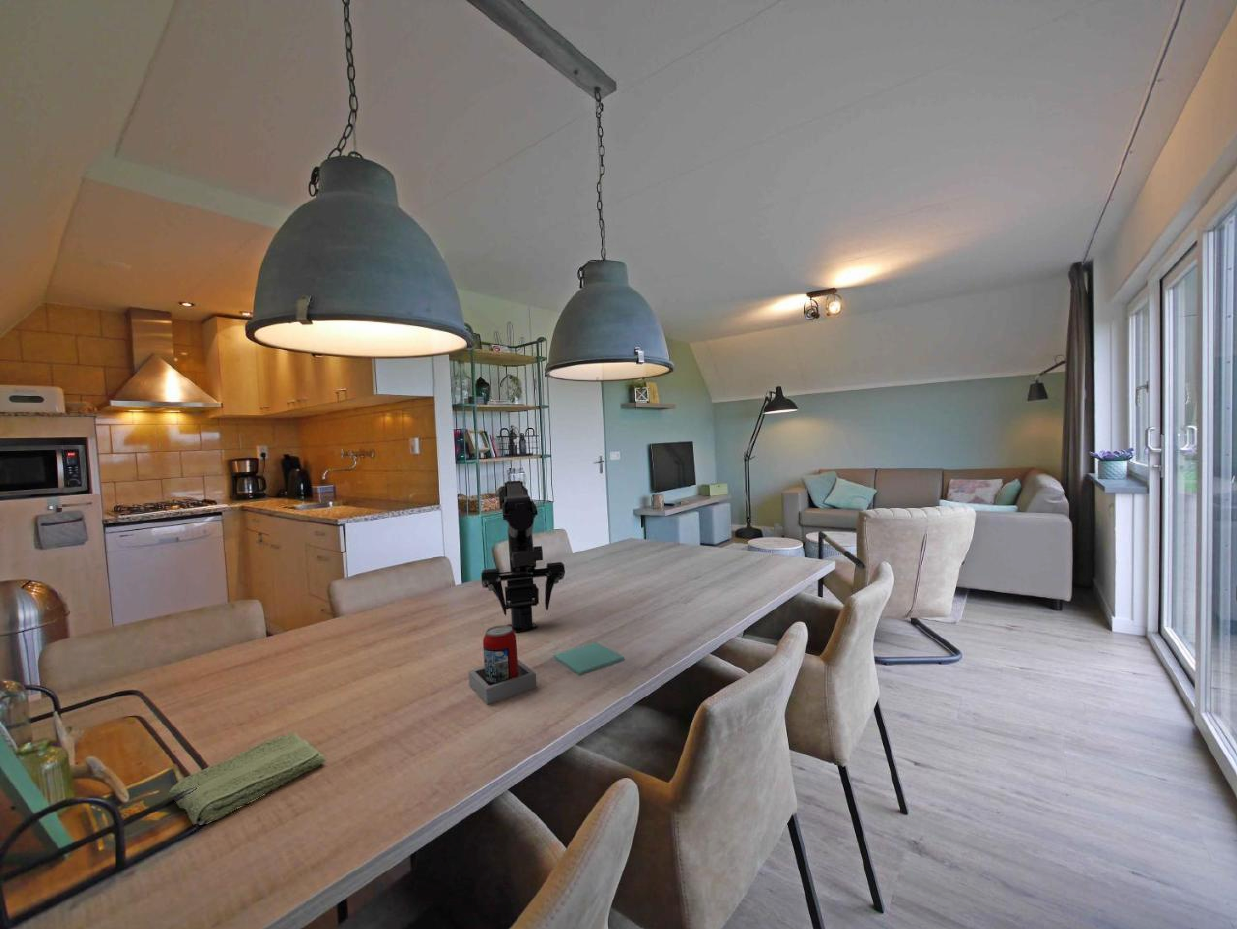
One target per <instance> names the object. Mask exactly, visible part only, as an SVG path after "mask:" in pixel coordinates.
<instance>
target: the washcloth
mask: <svg viewBox="0 0 1237 929" xmlns="http://www.w3.org/2000/svg"><path fill="white" fill-rule="evenodd" d="M325 762H326V758H325V755H323V754H322V753H320V751H318V750H317V749H316V748H315V747H314V746H313V744H312V745H311V744H310V743H309V741H307V740H306V739H301V738H300V736H298V733H296V732H295V733H288V734H284V735H281V736H278V737H275V738H272V739H268V740H266V741H264V742H261V743H260V744H257V745H255V746H254V747H251V748H249V749H247V750H245V751H241V752H240V753H238V754H236V755H235V756H233V757H231V758H229V759H226V760H223V761H221V762H219V763H216V764H213V765H211V766H207V767H206V768H204V769H202V770H199V771H197V772H195V773H192V774H190V775H189V776H186V777H184V778H183V779H182V780H181V781H179V782H177V783H176V784H174V785H173V786H172V787H171V788H170V790H169V791H168V798H169V799H171V798H170V797H173V796H175V795H177V794H179V793H181V792H183V791H186V790H188V789H190V788H193V787H197V789H196V790H194V791H193V792H191V793H190V794H187V795H185V796H184V797H183V798H182V799H180V800H179V801H177V803H175V805H176V804H177V806H178V807H179V809H182V808H184V809H185V810H184V811H186V813H187V816H188V819H189V820H190V822H191V823H192V824H193V825H195V824H196V823H197V822H198V821H200V820H206V821H208V822H209V821H214V820H215V821H217V820H219V819H222V818H223V817H225V816H227V815H229V814H231V813H232V812H231V811H233V810H235V809H237V807H240V806H244V805H245V804H247V803H248V802H250V801H252V800H254V799H256V798H258V797H260V796H262V795H263V794H266V793H268V792H269V791H271V790H272V791H274V790H277V787H278V788H280V787H281V786H284V785H285V784H287V783H288V781H289V782H291V781H292V780H295V779H296V778H298V777H299V776H301V775H302V774H305V773H308V772H309V771H313V770H314V769H317V767H319V766H321V765H322V764H324V763H325ZM198 783H199V785H198ZM279 786H280V787H279ZM273 789H274V790H273ZM272 791H271V792H272ZM269 793H270V792H269ZM269 793H268V794H269ZM266 795H267V794H266ZM248 804H249V803H248ZM248 804H247V805H248ZM245 806H246V805H245ZM245 806H244V807H245ZM230 812H231V813H230ZM228 813H229V814H228ZM226 814H227V815H226ZM215 821H214V822H215Z"/></svg>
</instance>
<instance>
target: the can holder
mask: <svg viewBox="0 0 1237 929" xmlns="http://www.w3.org/2000/svg"><path fill="white" fill-rule="evenodd" d="M467 672H468V684H469V687H471V689H472V690H473V691H474V692H475V693H476V694H477V695H478V696H479V697H480V698H481V699H482V700H483V701H484V703H485V704H486V705H489V704H492V703H495V702H498V701H501V700H504V699H507V698H510V697H513V696H517V695H519V694H522V693H525V692H527V691H530V690H533V689H537V688H538V687H537V686H538V684H537V673H536V672H535V671H533V670H532V669H531V668H530V667H528V666H527V665H526V664H525V663H523V662H522V661H520V660H519V659H518V677H516V678H513V679H509V680H506V681H503V682H500V683H497V684H494V685H491V686H489V685H488V684H487V683H486V679H485V665H484V666H481V667H478V668H476V669H475V668H474V669H471V670H468V671H467Z"/></svg>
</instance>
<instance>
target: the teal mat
mask: <svg viewBox="0 0 1237 929" xmlns="http://www.w3.org/2000/svg"><path fill="white" fill-rule="evenodd" d="M552 658H553V659H554V660H556V661H558V662H559V663H560V664H562V665H564V666H565V667H567V668H569V670H571V671H572V672H574V673H576V674H577V675H578V676H581V675H583V674H586V673H588V672H589V673H590V672H591V671H594V670H597V669H601V668H603V667H606V666H609V665H613V664H615V663H618V662H621V661H624V660H625V656H624V655H621V654H619V653H618V652H616V651H614V650H613V649H610V648H609V647H607V646H605V645H603V644H601V643H599V642H597V641H595V642H591V643H589V644H585V645H582V646H579V647H578V646H577V647H575V648H572V649H569V650H566V651H562V652H559V653H555V654H553V655H552Z"/></svg>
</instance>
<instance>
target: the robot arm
mask: <svg viewBox="0 0 1237 929" xmlns="http://www.w3.org/2000/svg"><path fill="white" fill-rule="evenodd" d="M498 507H499V510H501V516H502V521H505V522H506V523H507V539H508V551H509V552H508V553H509V555H508V556H509V570H510V571H507V572H500V568H490V569H483V570H482V572H481V573H480V574H481V576H480V577H481V585H482V588H483V589H486V588H487V589H488V591H489V592H493V593H494V596H495V597H496V598H497V600H498V602H499V605H500V607H501V609H502V612H503V614H504V616H507V610H510V616H511V617H510V618H511V624H507V625H506V626H510V627H512V630H513V631H514V633H515V634H517V633H521V632H526V631H529V630H534V629H537V628H538V626H539V625H537V624H536V623H534V621H533V607H537V606H538V605H539V603H540V595H539V594H540V589H539V587H537V583H534V578H543V577H545V578H546V580H545V594H544V595H545V596H544V597H545V600H544V604H545V611H548V610H549V606H550V601H551V595H552V591H553V588H554V585H556V584H558V583H559V581H561V580H563V579H564V577H565V574H566V570H565V564H564V563H563V562H562V561H557V562H548V563H547V562H546V567H545V568H544V567H543V568H537V561H543V560H544V554H543V545H538V546H534V539H533V530H534V524H535V522H534V521H535V518H536V516H538V508H537V504H535V502H534V500H531V496H530V495H529V490H528V488H526V487H525V486H524V484H523V481H521V480H508V481H506V482H504V486H503V487H502V488H501V489H500V490H499V491H498ZM504 581H505V582H506V586H504V591H503V585H502V582H504Z"/></svg>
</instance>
